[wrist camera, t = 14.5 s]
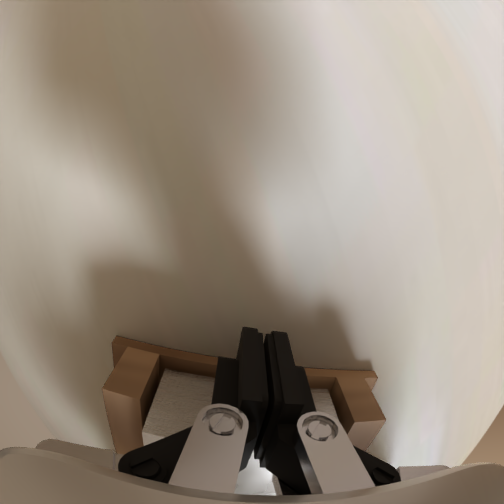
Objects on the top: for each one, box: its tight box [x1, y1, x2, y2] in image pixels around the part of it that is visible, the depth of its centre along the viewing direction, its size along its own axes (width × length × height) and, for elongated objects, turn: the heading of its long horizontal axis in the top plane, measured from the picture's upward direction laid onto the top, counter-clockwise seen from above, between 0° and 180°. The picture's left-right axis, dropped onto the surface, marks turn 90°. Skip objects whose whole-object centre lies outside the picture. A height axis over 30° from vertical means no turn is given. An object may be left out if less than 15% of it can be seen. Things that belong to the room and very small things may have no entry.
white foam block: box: [142, 369, 339, 496], centre depth 10 cm, size 5×7×4 cm
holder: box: [102, 336, 386, 454], centre depth 12 cm, size 19×13×5 cm, turn 170°
